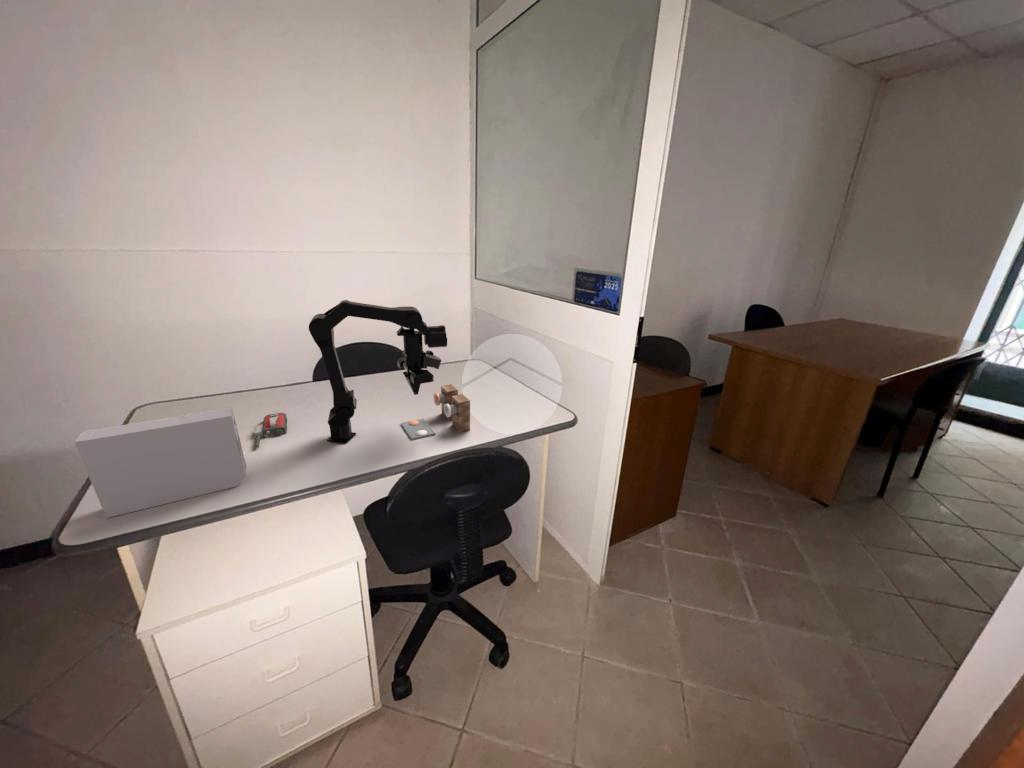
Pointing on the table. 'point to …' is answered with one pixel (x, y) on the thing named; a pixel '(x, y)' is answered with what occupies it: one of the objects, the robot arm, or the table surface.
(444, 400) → the plunger
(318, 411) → the table surface
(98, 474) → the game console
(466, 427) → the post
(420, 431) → the card
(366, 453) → the table surface
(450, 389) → the post
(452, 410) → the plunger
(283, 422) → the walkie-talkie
